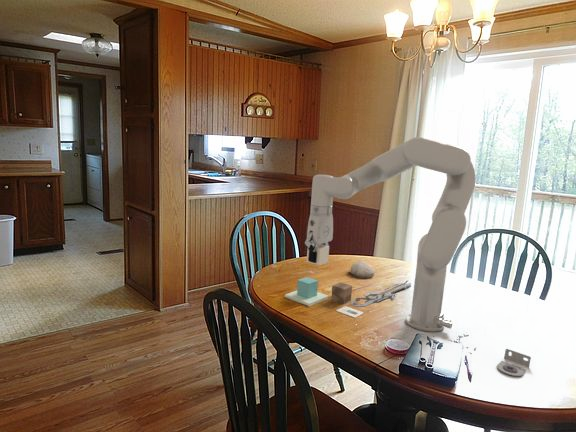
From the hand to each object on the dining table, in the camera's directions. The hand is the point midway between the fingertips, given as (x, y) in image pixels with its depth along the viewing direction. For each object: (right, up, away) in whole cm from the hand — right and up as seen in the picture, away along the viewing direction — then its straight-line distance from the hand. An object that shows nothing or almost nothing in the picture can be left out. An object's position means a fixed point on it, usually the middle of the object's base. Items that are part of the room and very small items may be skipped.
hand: (317, 259), depth 151 cm
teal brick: (-3, -15, +12) cm, 19 cm away
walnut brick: (+10, -17, +11) cm, 22 cm away
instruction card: (+12, -19, 0) cm, 22 cm away
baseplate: (-3, -16, +12) cm, 20 cm away
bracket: (+53, -28, -32) cm, 68 cm away
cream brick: (0, -1, 0) cm, 1 cm away
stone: (+24, -12, +45) cm, 52 cm away
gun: (+29, -17, +19) cm, 38 cm away
